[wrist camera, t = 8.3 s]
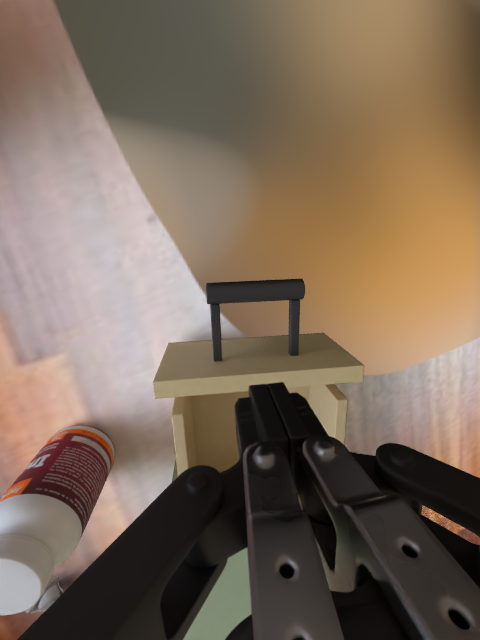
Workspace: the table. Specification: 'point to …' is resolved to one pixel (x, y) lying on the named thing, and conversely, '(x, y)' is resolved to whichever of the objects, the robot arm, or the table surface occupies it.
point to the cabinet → (224, 599)
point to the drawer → (248, 375)
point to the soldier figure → (47, 597)
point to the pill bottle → (49, 512)
